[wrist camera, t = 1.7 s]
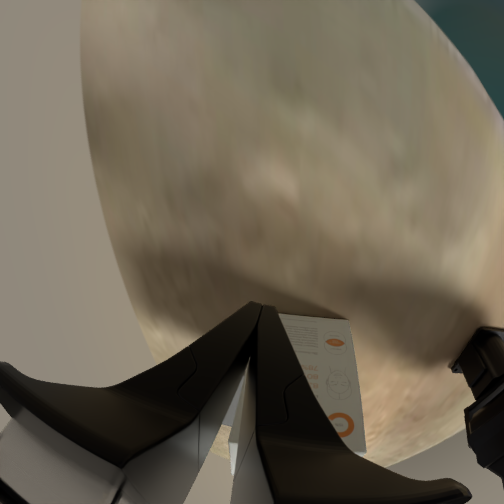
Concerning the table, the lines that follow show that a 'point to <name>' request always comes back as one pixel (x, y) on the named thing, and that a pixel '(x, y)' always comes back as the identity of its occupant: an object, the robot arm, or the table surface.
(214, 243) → the table surface
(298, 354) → the small box
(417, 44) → the table surface
